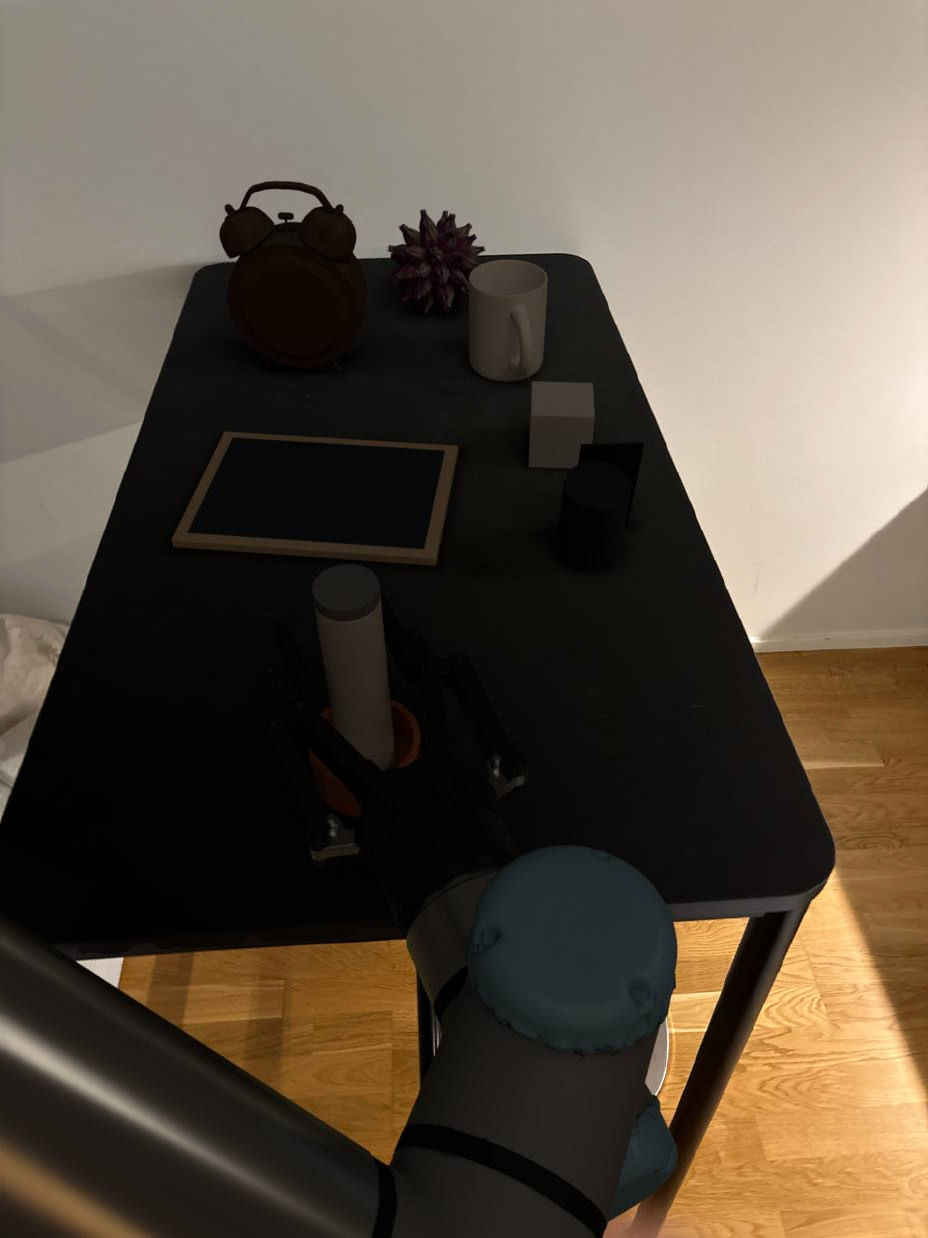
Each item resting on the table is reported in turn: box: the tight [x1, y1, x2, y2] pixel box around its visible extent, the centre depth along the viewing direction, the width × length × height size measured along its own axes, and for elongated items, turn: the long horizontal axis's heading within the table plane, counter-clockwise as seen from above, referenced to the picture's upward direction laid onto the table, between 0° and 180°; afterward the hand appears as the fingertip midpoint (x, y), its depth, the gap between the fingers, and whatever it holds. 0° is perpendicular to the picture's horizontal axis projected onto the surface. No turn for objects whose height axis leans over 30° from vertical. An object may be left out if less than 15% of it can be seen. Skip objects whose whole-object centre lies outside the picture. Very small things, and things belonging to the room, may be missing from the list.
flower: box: [387, 209, 486, 314], centre depth 116 cm, size 12×12×12 cm
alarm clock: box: [218, 180, 368, 372], centre depth 104 cm, size 15×7×20 cm, turn 84°
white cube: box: [528, 380, 596, 469], centre depth 97 cm, size 6×6×6 cm
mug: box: [468, 259, 549, 383], centre depth 105 cm, size 12×8×10 cm
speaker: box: [556, 441, 645, 572], centre depth 85 cm, size 8×6×10 cm
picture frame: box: [171, 431, 459, 567], centre depth 93 cm, size 24×17×1 cm
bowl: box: [307, 698, 423, 818], centre depth 70 cm, size 8×8×4 cm
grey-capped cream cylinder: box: [311, 563, 396, 771], centre depth 64 cm, size 4×4×18 cm
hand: (331, 621), depth 67 cm, fingers open, 6 cm apart
